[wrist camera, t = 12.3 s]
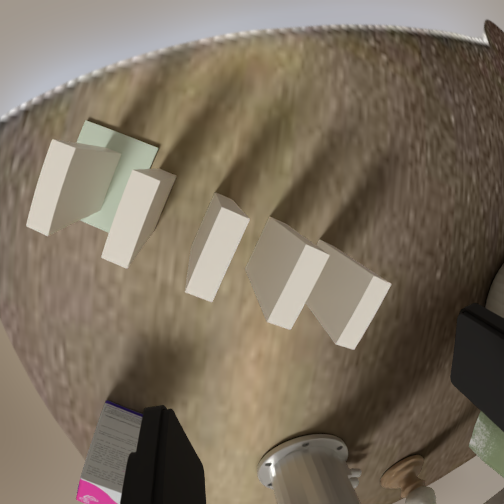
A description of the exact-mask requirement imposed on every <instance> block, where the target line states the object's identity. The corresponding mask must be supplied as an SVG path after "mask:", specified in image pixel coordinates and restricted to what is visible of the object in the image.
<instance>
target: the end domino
mask: <svg viewBox="0 0 504 504" xmlns="http://www.w3.org/2000/svg"><path fill="white" fill-rule="evenodd" d="M121 155H122V154H121V153H118V152H116V151H113V150H111V149H108V148H105V147H100V146H94V145H88V144H82V143H75V142H69V141H62V140H55V139H52V142H51V144H50V147H49V150H48V153H47V155H46V158H45V161H44V164H43V167H42V170H41V174H40V177H39V180H38V183H37V187H36V190H35V194H34V197H33V201H32V204H31V208H30V212H29V216H28V220H27V225H26V226H27V227H29V228H32V229H34V230H36V231H38V232H40V233H42V234H44V235H46V236H49V235H51V234H53V233H55V232H57V231H59V230H61V229H63V228H65V227H67V226H69V225H71V224H73V223H75V222H77V221H79V220H81V219H83V218H86V217H88V216H90V215H92V214H94V213H96V212H98V211H100V210H101V207H102V204H103V201H104V199H105V196H106V193H107V190H108V188H109V185H110V182H111V180H112V177H113V174H114V172H115V169H116V167H117V164H118V162H119V159H120V157H121Z"/></svg>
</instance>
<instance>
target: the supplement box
mask: <svg viewBox="0 0 504 504" xmlns="http://www.w3.org/2000/svg"><path fill="white" fill-rule="evenodd" d="M142 416H143V414H142V413H139V412H136V411H134V410H131V409H128V408H125V407H123V406H121V405H118V404H116V403H113V402H111V401H106V402H105V404H104V407H103V410H102V412H101V415H100V418H99V421H98V424H97V427H96V430H95V433H94V436H93V439H92V442H91V445H90V448H89V451H88V454H87V457H86V461H85V464H84V467H83V471H82V474H81V478H80V482H79V486H78V492H77V497H76V499H77V500H78V501H80V502H83V503H85V504H120V500H121V494H122V488H123V482H124V476H125V471H126V465H127V460H128V457H129V454H130V453H131V452H136V449H137V443H138V437H139V432H140V427H141V422H142Z"/></svg>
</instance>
